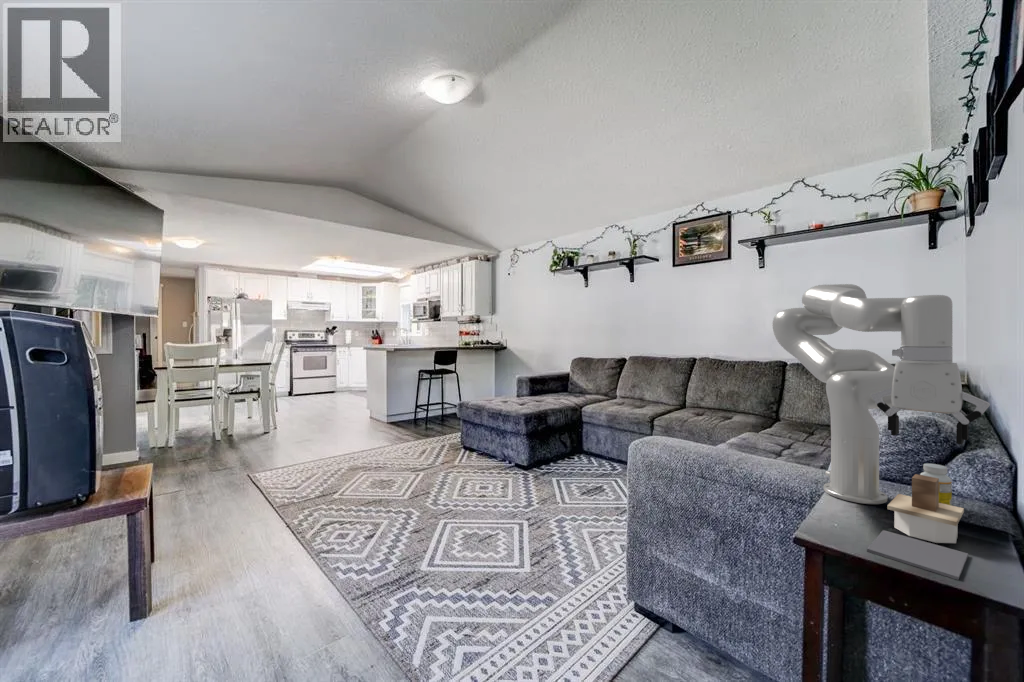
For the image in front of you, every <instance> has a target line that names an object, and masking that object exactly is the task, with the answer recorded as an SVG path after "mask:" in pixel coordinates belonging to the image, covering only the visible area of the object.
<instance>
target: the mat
mask: <svg viewBox="0 0 1024 682" xmlns="http://www.w3.org/2000/svg"><path fill="white" fill-rule="evenodd" d="M866 552H869V553H872V554H874V555H878V556H882V557H885V558H887V559H891V560H894V561H896V562H900V563H904V564H906V565H910V566H913V567H915V568H919V569H922V570H925V571H929V572H932V573H935V574H937V575H941V576H944V577H948V578H950V579H954V580H957V581H959V580H960V577H961V575H962V572H963V570H964V569H965V565H966V562H967V560H968V558H969V553H968V552H964V551H959V550H957V549H952V548H949V547H946V546H944V545H938V544H935V543H933V542H932V543H931V542H929V541H928V542H927V541H926V540H922V539H918V538H915V537H911V536H908V535H907V536H906V535H903V534H899V533H895V532H892V531H887V530H885V529H882V531H881V532H880V533H879V534H878V535H877V536H876V537H875V539H873V541H872V542H871V543H870V544H869V545H868V547H867V548H866Z"/></svg>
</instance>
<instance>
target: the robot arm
mask: <svg viewBox="0 0 1024 682" xmlns="http://www.w3.org/2000/svg"><path fill="white" fill-rule="evenodd" d="M801 303H802V306H803V307H793V308H791V307H790V308H787V309H783V310H781V311H779V312H777V313H776V314H775V316H774V317H773V320H772V330H773V334H774V337H775V339H776V340H777V342H778V344H779V345H780V346H781V348H783V349H784V350H785V351H786V352H787V353H789V354H790V355H792V356H793V357H794V358H795V359H797V360H798V361H799V363H801V364H802V366H804V367H805V369H806V370H807V371H808V372H809V373H811V374H812V376H814V378H816V379H817V380H818V381H820V382H821V383H823V384H825V391H826V392H825V393H826V398H827V401H828V406H829V413H830V414H829V415H830V439H831V440H830V470H826V471H825V475H826V476H827V477H829V482H825V483H824V484H823V491H824V492H825V493H826V494H828V495H830V496H832V497H834V498H837V499H841V500H844V501H848V502H852V503H858V504H866V505H882V504H885V503H887V502H888V495H887V494H886V493H885V492H884V491H881V490H880V429H879V424H878V423H877V421H876V419H875V418H874V416H872V414H871V412H870V411H869V410H874V409H875V410H881V411H882V413H884V414H885V415H886V416H887V430H888V431H890V432H891V433H890V434H891V436H897V435H898V434H900V415H898V412H899V411H901V410H906V411H914V412H915V411H916V412H917V411H918V412H926V413H938V414H949V415H950V414H951V415H952V416H953V417H954V418H955V419H956V420H957V421H958V422H956V428H955V429H956V430H955V431H956V432H955V433H956V434H955V435H956V440H955V441H956V444H958V445H961V446H962V445H963V444H964V443H965V441H969V424H970V423H972V422H974V421H975V420H976V419H979V418H981V417H982V415H983V414H984V413H985V412H986V411H987V410H988V408H989V407H990V405H991V404H990V402H989V401H986V400H984V399H983V398H982V399H981V398H979V397H976V396H975V395H972V394H970V393H967V392H964V391H963V387H962V378H961V377H962V376H961V374H960V369H959V364H958V363H957V362H953V301H952V298H951V297H950V296H948V295H944V294H927V295H926V294H922V295H913V296H908V297H872V298H868V297H867V294H866V291H865V290H864V289H863V288H862V287H861V286H858V285H856V284H852V283H848V284H847V283H846V284H845V283H841V284H838V283H837V284H836V283H835V284H818V285H814V286H812V287H810V288H808V289H807V290H806V291H804V293H803V295H802V297H801ZM843 328H845V329H848V330H853V331H856V332H861V333H862V332H865V333H869V332H870V333H872V332H875V333H877V332H894V333H895V332H896V333H897V332H900V338H901V340H900V341H901V343H900V345H901V346H900V348H897V349H892V350H891V355H892V357H893V356H894V357H898V358H900V360H901V361H896V362H895V364H894V365H893V364H891V363H889V362H888V361H887V360H886V359H884V358H883V357H881V356H880V355H879V354H877V353H875V352H873V351H870V350H867V349H860V348H859V349H858V348H857V349H853V348H852V349H850V348H849V349H841V348H836V347H835V348H834V347H833V346H831V345H830V344H829V343H827V342H826V341H825V340H823V338H820V337H818V336H826V335H827V336H828V335H832V334H835V333H838V332H839V331H840V330H842V329H843ZM963 401H966V402H968V403H970V404H973V405H975V406H976V407H975V408H974V410H973V411H972V412H970V413H969V414H966V413H965V412H964V411H963V410H962V409H963Z"/></svg>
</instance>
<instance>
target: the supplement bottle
mask: <svg viewBox="0 0 1024 682" xmlns="http://www.w3.org/2000/svg"><path fill="white" fill-rule="evenodd" d="M922 469H923V471H922V472H920V473H919V475H923V476H929V477H934V478H939V503H942V504H947V505H951V506H953V501H952V499H953V497H952V496H953V493H952V491H953V489H952V485H953V484H952V482H953V481H952V478H951V477H950V476H949V475H948V467H947V466H945V465H942V464H938V463H937V464H936V463H929V462H928V463H923V467H922Z"/></svg>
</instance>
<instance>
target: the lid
mask: <svg viewBox="0 0 1024 682" xmlns="http://www.w3.org/2000/svg"><path fill="white" fill-rule="evenodd" d="M886 508H887V510H890V511H893V512H894V511H897V512H901V513H905V514H909V515H913V516H917V517H921V518H925V519H929V520H933V521H937V522H941V523H945V524H949V525H954V526H957V524H959V522H960V520H961V518H962V517H963V514H964V513H965V508H964V507H960V506H955V505H952V506H951V505H947V504H942V503H939V478H934V477H929V476H923V475H920V474H918V473H915V474H914V475H913V476H912V477H911V495H906V494H905V495H904V494H902V493H898V494H897V495H896V496H895V497H894V498H893V499H892V500H890V502H889V503H888V504H887V507H886Z"/></svg>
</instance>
